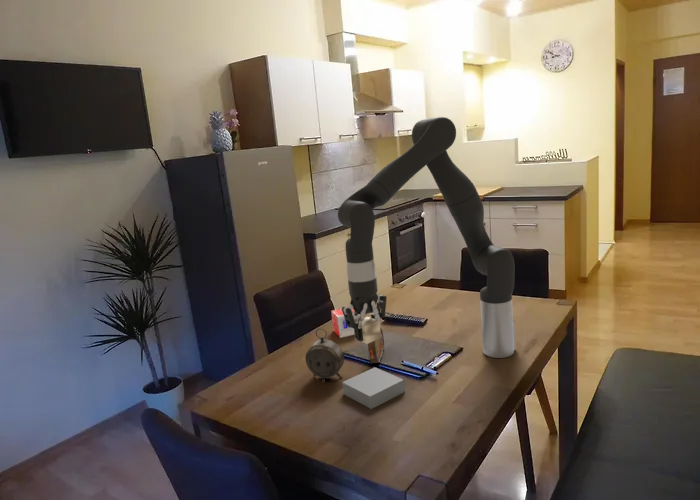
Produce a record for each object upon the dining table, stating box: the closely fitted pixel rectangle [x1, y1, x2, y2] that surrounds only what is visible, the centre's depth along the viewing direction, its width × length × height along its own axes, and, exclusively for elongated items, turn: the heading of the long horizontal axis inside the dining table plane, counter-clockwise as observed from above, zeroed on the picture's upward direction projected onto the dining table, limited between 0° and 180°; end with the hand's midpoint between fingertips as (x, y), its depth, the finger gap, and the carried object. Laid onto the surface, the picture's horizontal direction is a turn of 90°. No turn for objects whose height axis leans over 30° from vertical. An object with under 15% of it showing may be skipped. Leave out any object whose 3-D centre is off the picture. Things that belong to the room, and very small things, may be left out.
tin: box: [367, 326, 385, 364], centre depth 166 cm, size 15×3×8 cm, turn 168°
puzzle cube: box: [330, 308, 360, 338], centre depth 190 cm, size 8×8×8 cm
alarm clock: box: [305, 327, 345, 383], centre depth 153 cm, size 11×5×16 cm, turn 71°
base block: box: [342, 366, 406, 410], centre depth 144 cm, size 12×12×4 cm
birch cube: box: [354, 316, 381, 345], centre depth 140 cm, size 5×5×5 cm
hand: (368, 337), depth 141 cm, fingers closed on birch cube, 5 cm apart
